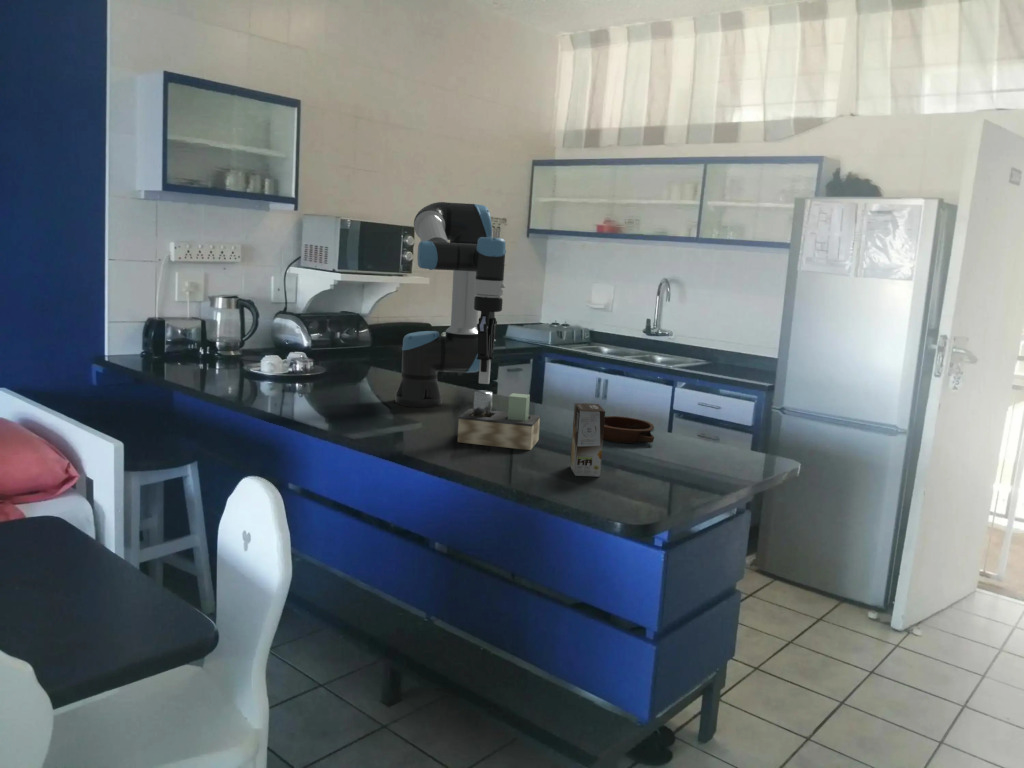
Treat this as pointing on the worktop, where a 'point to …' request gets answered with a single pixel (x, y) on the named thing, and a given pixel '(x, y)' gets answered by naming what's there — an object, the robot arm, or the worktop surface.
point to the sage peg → (518, 407)
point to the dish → (627, 430)
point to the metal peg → (482, 403)
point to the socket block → (498, 430)
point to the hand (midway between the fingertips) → (484, 383)
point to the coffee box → (587, 439)
